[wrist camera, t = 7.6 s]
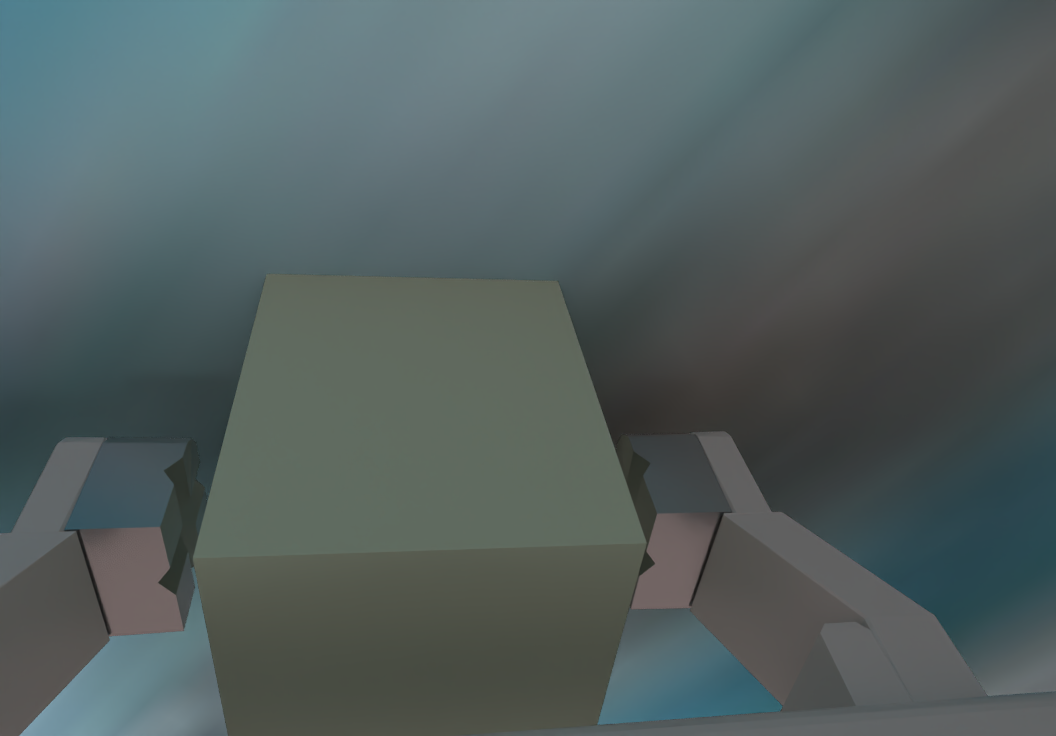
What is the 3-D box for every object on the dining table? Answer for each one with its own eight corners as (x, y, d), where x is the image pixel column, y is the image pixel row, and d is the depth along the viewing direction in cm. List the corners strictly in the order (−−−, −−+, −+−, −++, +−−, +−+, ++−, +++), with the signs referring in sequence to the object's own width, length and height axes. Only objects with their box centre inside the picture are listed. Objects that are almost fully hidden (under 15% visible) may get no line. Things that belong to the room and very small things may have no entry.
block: (557, 279, 11) (646, 543, 7) (528, 483, 14) (584, 769, 10) (266, 272, 11) (191, 558, 7) (286, 488, 13) (240, 797, 9)
